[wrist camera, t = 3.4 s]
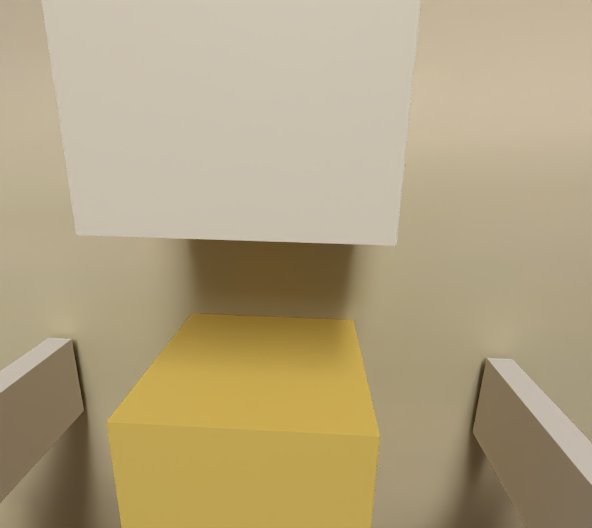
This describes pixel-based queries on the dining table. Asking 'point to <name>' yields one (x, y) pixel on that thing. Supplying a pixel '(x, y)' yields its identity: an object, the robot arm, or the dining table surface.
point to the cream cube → (235, 116)
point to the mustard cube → (249, 428)
